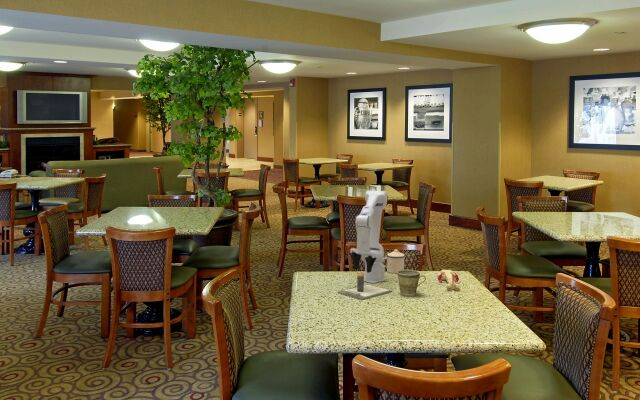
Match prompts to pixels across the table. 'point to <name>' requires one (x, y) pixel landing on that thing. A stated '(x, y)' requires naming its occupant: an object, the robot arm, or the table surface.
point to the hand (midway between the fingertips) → (362, 270)
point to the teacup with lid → (394, 261)
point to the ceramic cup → (409, 281)
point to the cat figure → (449, 279)
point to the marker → (360, 282)
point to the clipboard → (365, 292)
